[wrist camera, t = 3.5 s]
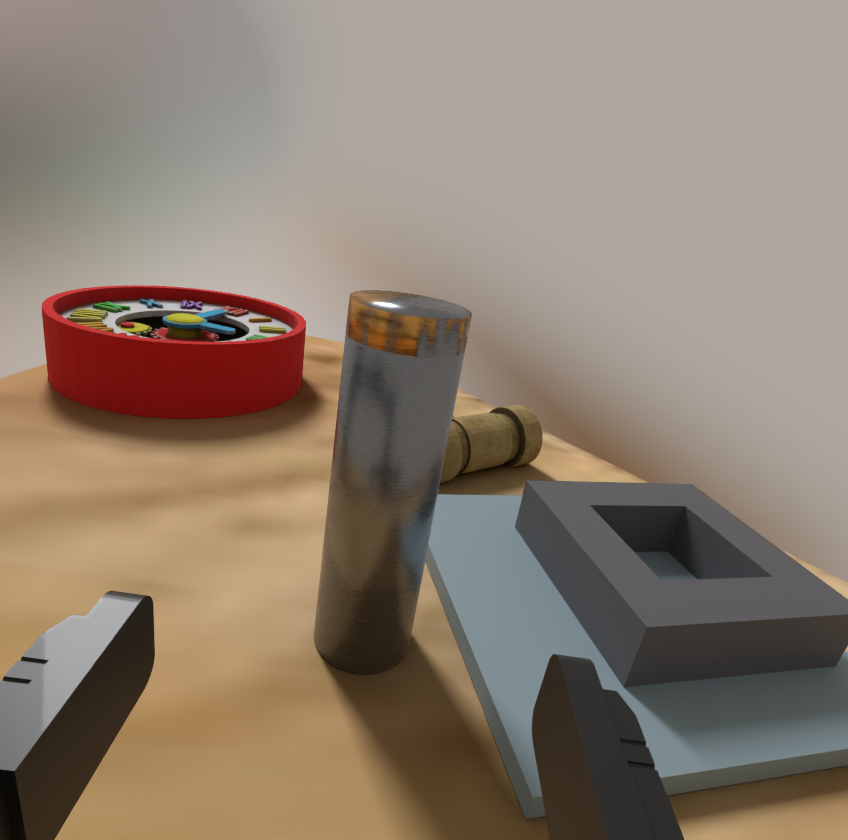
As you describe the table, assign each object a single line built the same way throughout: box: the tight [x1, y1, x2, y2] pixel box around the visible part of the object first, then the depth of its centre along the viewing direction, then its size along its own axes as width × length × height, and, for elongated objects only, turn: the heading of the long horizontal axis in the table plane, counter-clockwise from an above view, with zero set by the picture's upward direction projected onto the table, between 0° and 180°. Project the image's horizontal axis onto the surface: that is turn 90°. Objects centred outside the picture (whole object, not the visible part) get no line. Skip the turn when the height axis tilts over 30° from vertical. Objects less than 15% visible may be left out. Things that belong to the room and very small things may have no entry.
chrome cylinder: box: [314, 290, 472, 674], centre depth 20 cm, size 4×4×14 cm
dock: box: [425, 480, 848, 819], centre depth 27 cm, size 18×18×4 cm
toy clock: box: [42, 286, 306, 419], centre depth 47 cm, size 20×6×20 cm
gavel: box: [440, 405, 542, 483], centre depth 45 cm, size 21×5×10 cm
